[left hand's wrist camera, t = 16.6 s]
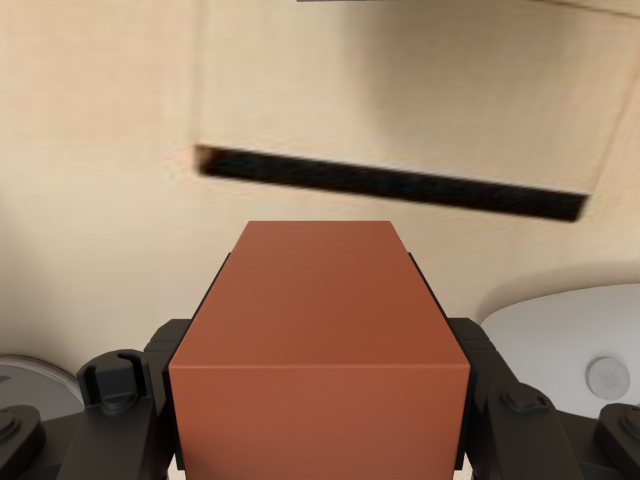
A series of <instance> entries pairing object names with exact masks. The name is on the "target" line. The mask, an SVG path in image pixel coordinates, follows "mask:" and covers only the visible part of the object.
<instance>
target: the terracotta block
mask: <svg viewBox="0 0 640 480" xmlns="http://www.w3.org/2000/svg"><path fill="white" fill-rule="evenodd" d="M469 372H470V364H469V362H468V361H467V359H466V357H465V355H464V353H463V352H462V350H461V348H460V346H459V344H458V343H457V341H456V339H455V337H454V335H453V334H452V332H451V330H450V328H449V326H448V325H447V323H446V321H445V319H444V317H443V316H442V314H441V312H440V310H439V308H438V307H437V305H436V303H435V301H434V299H433V298H432V296H431V294H430V292H429V290H428V288H427V287H426V285H425V283H424V281H423V279H422V278H421V276H420V274H419V272H418V270H417V269H416V267H415V265H414V263H413V261H412V260H411V258H410V256H409V254H408V252H407V251H406V249H405V247H404V245H403V243H402V242H401V240H400V238H399V236H398V234H397V233H396V231H395V229H394V227H393V225H392V224H391V222H390V221H249V222H248V224H247V225H246V227H245V229H244V231H243V233H242V234H241V236H240V238H239V240H238V242H237V243H236V245H235V247H234V249H233V251H232V252H231V254H230V256H229V258H228V260H227V261H226V263H225V265H224V267H223V269H222V270H221V272H220V274H219V276H218V278H217V279H216V281H215V283H214V285H213V287H212V288H211V290H210V292H209V294H208V296H207V297H206V299H205V301H204V303H203V305H202V306H201V308H200V310H199V312H198V314H197V315H196V317H195V319H194V321H193V323H192V324H191V326H190V328H189V330H188V332H187V333H186V335H185V337H184V339H183V341H182V342H181V344H180V346H179V348H178V350H177V351H176V353H175V355H174V357H173V359H172V360H171V362H170V364H169V374H170V380H171V386H172V393H173V399H174V406H175V412H176V418H177V425H178V431H179V438H180V444H181V450H182V457H183V463H184V470H185V476H186V480H453V475H454V469H455V462H456V456H457V449H458V443H459V437H460V430H461V424H462V417H463V411H464V404H465V398H466V392H467V385H468V379H469Z"/></svg>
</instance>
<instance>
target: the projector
mask: <svg viewBox="0 0 640 480" xmlns="http://www.w3.org/2000/svg"><path fill="white" fill-rule="evenodd" d="M480 327H482V329H483V330H484V331H485V333H486V334H487V336H488V337H489V339H490V341H491V342H492V343H493V344H494V346H495V347H496V351H498V352H499V353H500V355H501V356H502V357H503V359H504V360H505V362H506V363H507V365H508V366H509V368H510V369H511V370H512V372H513V373H514V375H515V376H516V378H517V379H518V380H519V382H521V383H525V384H528V385H530V386H532V387H534V388H536V389H538V390H540V391H541V392H542V393H543V394H545V395H546V396H547V397H548V398H549V399H550V400H551V402H552V403H553V404H554V406H555V408H556V409H557V410H560V411H564V412H567V413H571V414H576V415H580V416H585V417H589V418H593V419H598V417H599V414H600V411H601V409H602V408H603V407H604V406H606V405H607V404H612V403H624V404H631V405H635V406H638V407H640V283H635V284H619V285H609V286H600V287H592V288H585V289H579V290H573V291H567V292H562V293H557V294H552V295H547V296H543V297H538V298H534V299H530V300H526V301H522V302H519V303H516V304H513V305H510V306H507V307H504V308H502V309H500V310H497V311H495V312H494V313H492V314H490V315H489V316H488V317H487V318H486V319H485V320H484V321H483V322H482V323H481V325H480Z"/></svg>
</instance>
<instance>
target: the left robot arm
mask: <svg viewBox="0 0 640 480" xmlns="http://www.w3.org/2000/svg"><path fill="white" fill-rule="evenodd" d="M230 254H231V253H229V254H228V256H227V257H226V259H225V261H224V263H223V264H222V266H221V268H220V270H219V271H218V273H217V275H216V277H215V278H214V280H213V282H212V284H211V285H210V287H209V289H208V291H207V293H206V294H205V296H204V298H203V300H202V301H201V303H200V305H199V307H198V308H197V310H196V312H195V314H194V315H193V317H192V319H171V320H170V321H168V322H167V323H166V324H164V325H163V326H161V327H160V328H159V329H158V330H157V331H156V333H155V334H154V335H153V337H152V338H151V340H150V342H149V343H148V344H147V346H146V347H145V349H144V352H141V351H137V350H133V349H123V350H116V351H112V352H107V353H105V354H102V355H100V356H98V357H95V358H93V359H92V360H90V361H89V362H88V363H86V364H85V365H83V366H82V368H81V369H80V370H79V371H78V373H77V374H76V375H77V379H78V381H77V380H76V379H75V378H73V377H72V376H70V375H69V374H68V373H66V372H64V371H63V370H61V369H59V368H57V367H55V366H53V365H51V364H48V363H46V362H43V361H40V360H37V359H33V358H29V357H23V356H16V355H0V480H169V477H168V471H167V470H168V468H169V465H170V463H171V461H172V458H173V456H174V453H175V457H176V464H177V470H184V463H183V457H182V450H181V444H180V438H179V431H178V425H177V418H176V412H175V406H174V399H173V393H172V386H171V380H170V374H169V364H170V362H171V360H172V359H173V357H174V355H175V353H176V351H177V350H178V348H179V346H180V344H181V342H182V341H183V339H184V337H185V335H186V333H187V332H188V330H189V328H190V326H191V324H192V323H193V321H194V319H195V317H196V315H197V314H198V312H199V310H200V308H201V306H202V305H203V303H204V301H205V299H206V297H207V296H208V294H209V292H210V290H211V288H212V287H213V285H214V283H215V281H216V279H217V278H218V276H219V274H220V272H221V270H222V269H223V267H224V265H225V263H226V261H227V260H228V258H229V256H230ZM408 254H409V256H410V258H411V260H412V261H413V263H414V265H415V267H416V269H417V270H418V272H419V274H420V276H421V278H422V279H423V281H424V283H425V285H426V287H427V288H428V290H429V292H430V294H431V296H432V298H433V299H434V301H435V303H436V305H437V307H438V308H439V310H440V312H441V314H442V316H443V317H444V319H445V321H446V323H447V325H448V326H449V328H450V330H451V332H452V334H453V335H454V337H455V339H456V341H457V343H458V344H459V346H460V348H461V350H462V352H463V353H464V355H465V357H466V359H467V361H468V362H469V364H470V372H469V379H468V385H467V392H466V398H465V404H464V411H463V417H462V424H461V430H460V437H459V443H458V449H457V456H456V462H455V469H454V470H462V468H463V462H464V455H465V452H466V454H467V457H468V459H469V462H470V464H471V467H472V469H473V471H472V477H471V480H640V407H638V406H635V405H631V404H624V403H612V404H607V405H606V406H604V407H603V408H602V409H601V411H600V414H599V417H598V419H593V418H589V417H585V416H580V415H576V414H571V413H567V412H564V411H560V410H557V409H556V408H555V406H554V404H553V403H552V402H551V400H550V399H549V398H548V397H547V396H546V395H545V394H543V393H542V392H541V391H540V390H538V389H536V388H534V387H532V386H530V385H528V384H525V383H521V382H519V380H518V379H517V378H516V376H515V375H514V373H513V372H512V370H511V369H510V368H509V366H508V365H507V363H506V362H505V360H504V359H503V357H502V356H501V355H500V353H499V352H498V351H496V347H495V346H494V344H493V343H492V342H491V341H490V339H489V337H488V336H487V334H486V333H485V331H484V330H483V329H482V327H480V326H479V325H477V324H476V323H475V322H473V321H472V320H470V319H469V318H447V316H446V314H445V312H444V311H443V309H442V307H441V305H440V304H439V302H438V300H437V298H436V297H435V295H434V293H433V291H432V290H431V288H430V286H429V284H428V283H427V281H426V279H425V277H424V276H423V274H422V272H421V270H420V269H419V267H418V265H417V263H416V262H415V260H414V258H413V256H412V255H411V253H408Z"/></svg>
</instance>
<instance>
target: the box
mask: <svg viewBox="0 0 640 480" xmlns="http://www.w3.org/2000/svg"><path fill="white" fill-rule="evenodd" d="M307 1H365V0H297V2H307Z"/></svg>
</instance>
